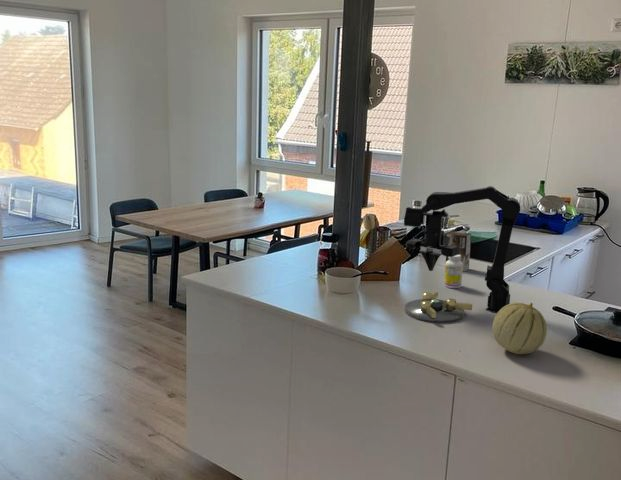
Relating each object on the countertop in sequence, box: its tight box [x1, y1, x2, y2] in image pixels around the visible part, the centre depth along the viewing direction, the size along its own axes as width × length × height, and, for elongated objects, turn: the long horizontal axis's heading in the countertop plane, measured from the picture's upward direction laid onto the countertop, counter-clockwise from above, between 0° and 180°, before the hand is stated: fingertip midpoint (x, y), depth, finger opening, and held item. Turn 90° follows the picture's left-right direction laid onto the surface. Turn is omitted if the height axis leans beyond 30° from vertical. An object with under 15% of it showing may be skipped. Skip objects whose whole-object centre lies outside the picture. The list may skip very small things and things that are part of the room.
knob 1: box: [422, 291, 439, 301], centre depth 206 cm, size 9×3×3 cm, turn 141°
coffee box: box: [445, 230, 472, 272], centre depth 254 cm, size 9×6×16 cm
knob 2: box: [421, 301, 436, 318], centre depth 193 cm, size 9×3×3 cm, turn 10°
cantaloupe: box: [492, 302, 548, 355], centre depth 166 cm, size 15×15×15 cm
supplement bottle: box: [443, 255, 463, 289], centre depth 229 cm, size 7×7×13 cm
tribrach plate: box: [404, 298, 465, 324], centre depth 199 cm, size 20×20×4 cm
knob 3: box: [445, 298, 473, 311], centre depth 197 cm, size 9×3×3 cm, turn 77°
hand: (430, 270), depth 208 cm, fingers closed
